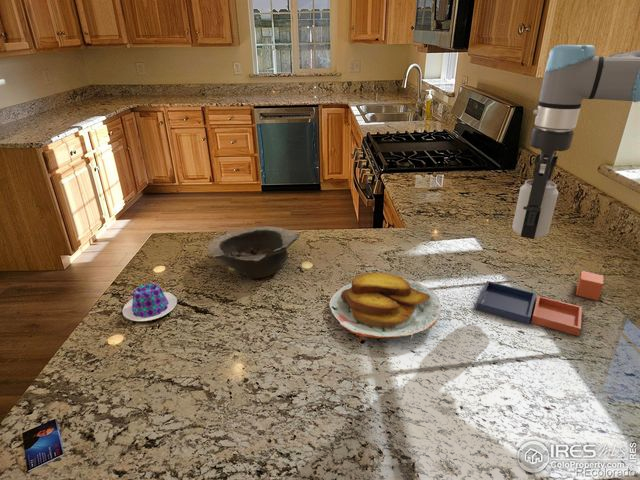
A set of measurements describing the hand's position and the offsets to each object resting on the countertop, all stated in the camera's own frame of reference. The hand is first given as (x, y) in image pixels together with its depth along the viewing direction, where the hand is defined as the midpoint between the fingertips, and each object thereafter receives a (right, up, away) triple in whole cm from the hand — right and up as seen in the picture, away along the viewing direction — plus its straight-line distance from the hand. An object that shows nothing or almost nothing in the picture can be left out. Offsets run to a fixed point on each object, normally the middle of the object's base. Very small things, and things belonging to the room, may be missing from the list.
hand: (529, 230), depth 96 cm
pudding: (-87, -18, +4) cm, 89 cm away
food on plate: (-33, -19, +2) cm, 38 cm away
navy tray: (-4, -17, +4) cm, 18 cm away
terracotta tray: (+5, -20, -1) cm, 20 cm away
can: (0, -1, 0) cm, 1 cm away
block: (+18, -15, +8) cm, 25 cm away
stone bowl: (-66, -9, +23) cm, 71 cm away
